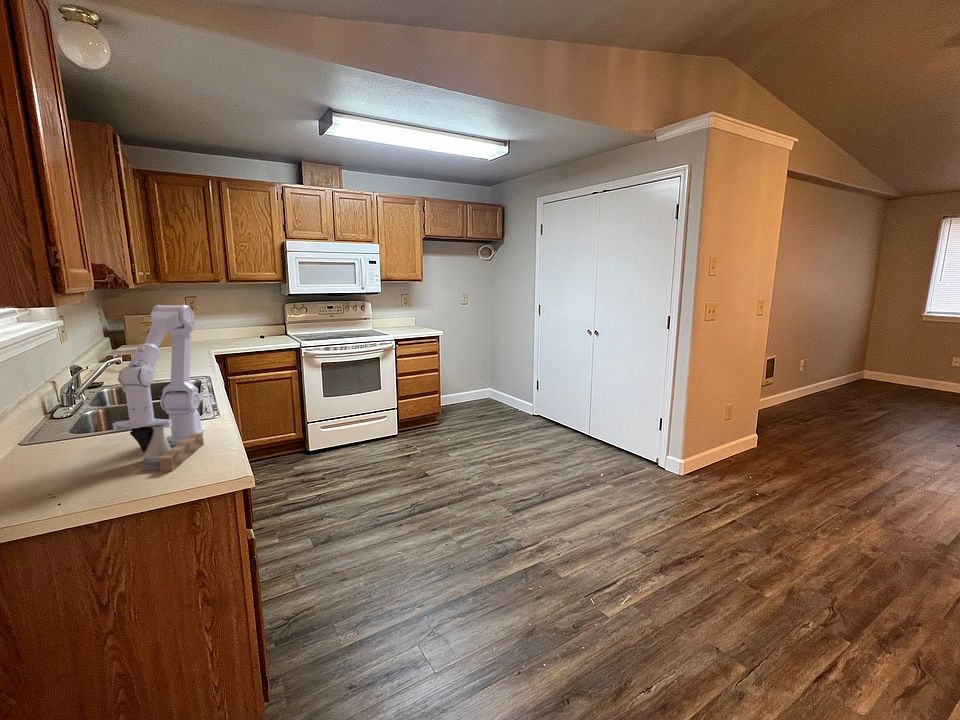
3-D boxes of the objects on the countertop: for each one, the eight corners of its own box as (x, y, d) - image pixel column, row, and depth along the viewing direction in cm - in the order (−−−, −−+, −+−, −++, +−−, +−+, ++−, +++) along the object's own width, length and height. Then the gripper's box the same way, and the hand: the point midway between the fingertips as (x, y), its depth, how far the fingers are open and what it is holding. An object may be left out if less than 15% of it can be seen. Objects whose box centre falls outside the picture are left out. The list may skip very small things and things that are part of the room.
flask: (179, 454, 135) (179, 423, 133) (158, 463, 128) (158, 431, 126) (158, 450, 136) (157, 419, 134) (136, 459, 129) (136, 426, 127)
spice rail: (176, 445, 142) (174, 433, 141) (203, 444, 143) (202, 432, 142) (140, 472, 123) (138, 459, 122) (172, 471, 124) (170, 457, 123)
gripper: (103, 412, 124) (110, 458, 126) (160, 409, 126) (166, 455, 128) (118, 404, 130) (125, 448, 133) (173, 403, 133) (178, 446, 135)
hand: (146, 451), depth 131 cm, fingers closed
